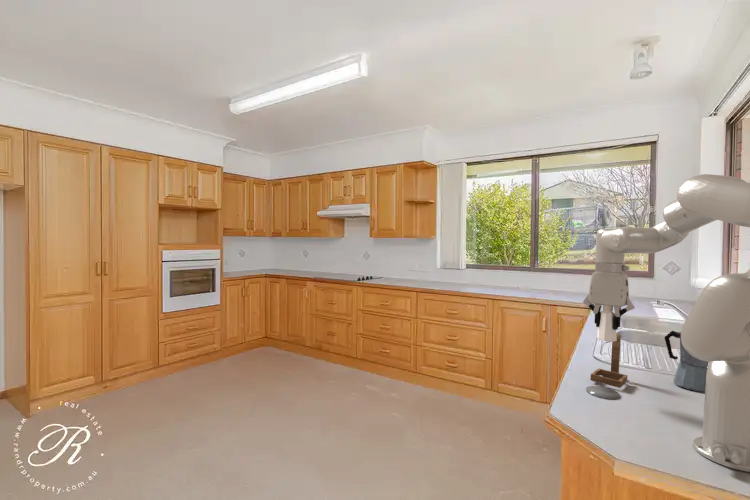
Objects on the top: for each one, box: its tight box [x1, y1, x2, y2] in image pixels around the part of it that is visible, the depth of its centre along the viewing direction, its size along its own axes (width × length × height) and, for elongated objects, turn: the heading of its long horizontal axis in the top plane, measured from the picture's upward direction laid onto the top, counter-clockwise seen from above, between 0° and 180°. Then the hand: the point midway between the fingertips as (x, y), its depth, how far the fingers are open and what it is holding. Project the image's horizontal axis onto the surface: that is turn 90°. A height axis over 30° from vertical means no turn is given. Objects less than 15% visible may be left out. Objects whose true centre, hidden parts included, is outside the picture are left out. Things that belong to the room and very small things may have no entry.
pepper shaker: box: [596, 305, 617, 342], centre depth 119 cm, size 5×5×11 cm
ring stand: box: [590, 332, 628, 389], centre depth 129 cm, size 14×9×16 cm, turn 134°
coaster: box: [585, 385, 621, 400], centre depth 119 cm, size 9×9×1 cm
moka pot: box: [664, 330, 710, 393], centre depth 126 cm, size 10×15×20 cm, turn 78°
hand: (607, 327), depth 119 cm, fingers closed on pepper shaker, 4 cm apart
